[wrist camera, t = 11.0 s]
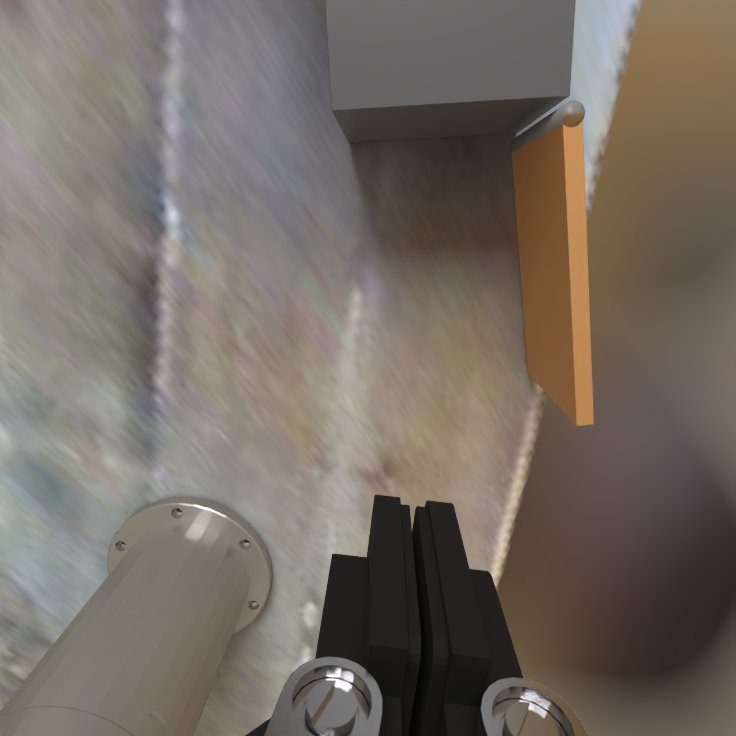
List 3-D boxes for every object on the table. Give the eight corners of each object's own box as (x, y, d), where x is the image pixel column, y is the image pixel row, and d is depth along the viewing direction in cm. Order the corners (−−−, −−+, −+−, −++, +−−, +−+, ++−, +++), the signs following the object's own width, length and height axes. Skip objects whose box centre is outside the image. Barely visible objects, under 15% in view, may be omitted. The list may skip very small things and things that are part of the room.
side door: (534, 134, 29) (597, 96, 20) (549, 369, 33) (606, 422, 24) (509, 138, 29) (559, 103, 20) (526, 373, 33) (574, 426, 24)
